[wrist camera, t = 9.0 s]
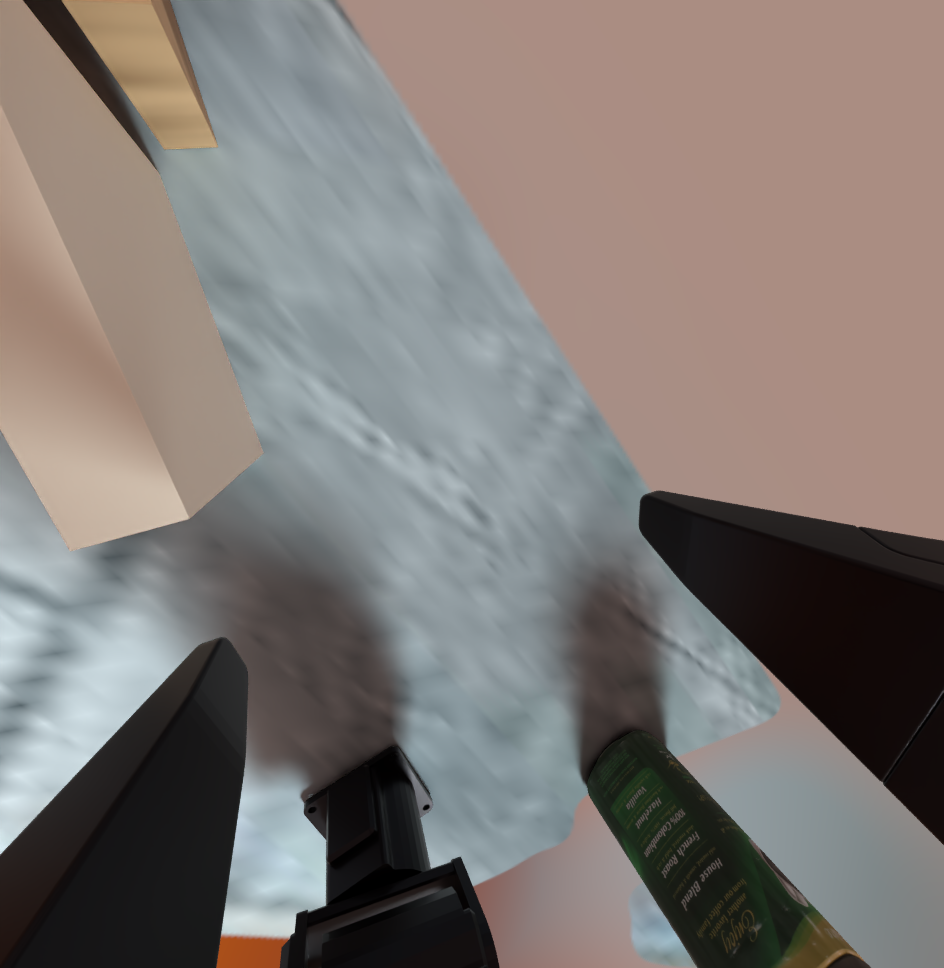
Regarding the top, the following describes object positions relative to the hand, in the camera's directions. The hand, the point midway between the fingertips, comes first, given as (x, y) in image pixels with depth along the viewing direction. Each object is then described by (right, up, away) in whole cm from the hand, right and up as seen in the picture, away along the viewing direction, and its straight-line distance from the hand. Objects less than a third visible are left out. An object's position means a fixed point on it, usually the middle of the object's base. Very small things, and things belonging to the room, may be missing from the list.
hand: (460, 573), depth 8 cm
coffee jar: (+14, -24, +27) cm, 38 cm away
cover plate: (-13, +9, +9) cm, 18 cm away
